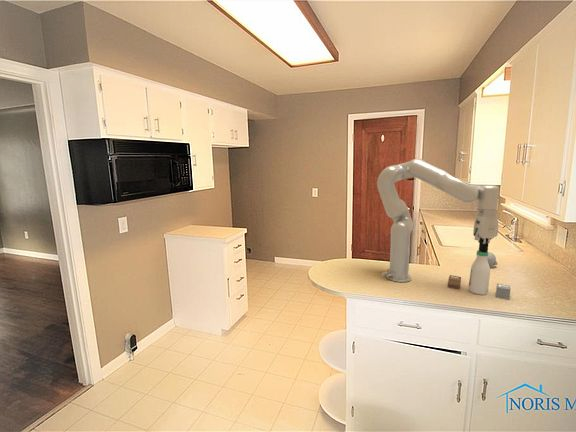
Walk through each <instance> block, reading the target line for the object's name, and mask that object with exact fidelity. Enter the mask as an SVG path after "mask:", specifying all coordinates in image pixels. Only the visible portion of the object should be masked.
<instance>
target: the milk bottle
mask: <svg viewBox="0 0 576 432" xmlns="http://www.w3.org/2000/svg"><path fill="white" fill-rule="evenodd" d="M488 252H489V251H488ZM488 252H485V253H484V252H481V251H479V249H478V250H477V251H476V258H475V260H473V263H472V264H471V268H470V273H469V282H468V291H469V292H470V293H472V294H475V295H483V296H485V295H487V294H488V291H489V284H490V278H491V277H490V276H491V268H490V266H489V264H488V260H487V257H488Z"/></svg>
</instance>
